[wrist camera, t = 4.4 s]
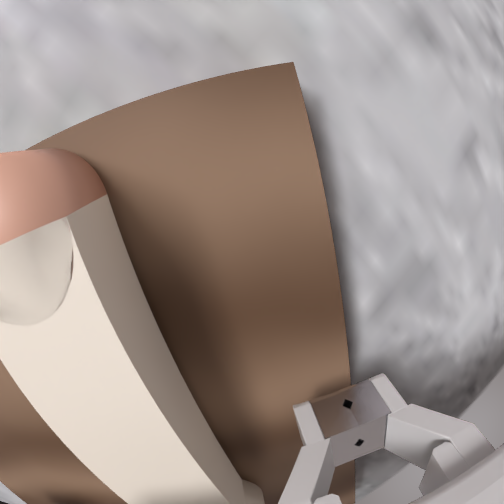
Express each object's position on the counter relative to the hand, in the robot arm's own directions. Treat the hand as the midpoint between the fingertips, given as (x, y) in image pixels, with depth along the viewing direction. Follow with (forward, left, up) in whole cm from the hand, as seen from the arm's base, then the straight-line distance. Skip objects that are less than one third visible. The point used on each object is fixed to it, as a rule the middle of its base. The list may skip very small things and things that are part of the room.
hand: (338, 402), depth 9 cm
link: (0, +6, -1) cm, 6 cm away
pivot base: (-2, +10, -3) cm, 11 cm away
